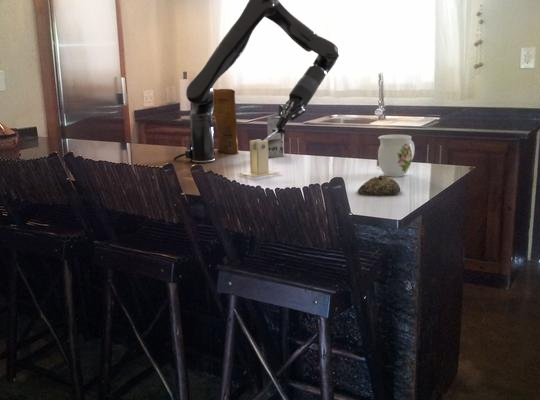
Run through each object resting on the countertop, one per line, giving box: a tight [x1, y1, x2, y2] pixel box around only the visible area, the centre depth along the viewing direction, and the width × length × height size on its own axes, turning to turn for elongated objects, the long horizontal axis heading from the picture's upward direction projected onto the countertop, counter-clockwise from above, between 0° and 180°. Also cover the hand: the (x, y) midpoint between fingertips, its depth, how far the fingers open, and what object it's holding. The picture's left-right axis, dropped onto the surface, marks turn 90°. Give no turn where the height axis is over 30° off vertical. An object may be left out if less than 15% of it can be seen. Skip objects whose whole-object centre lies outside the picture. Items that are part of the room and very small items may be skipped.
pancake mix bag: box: [213, 88, 239, 155], centre depth 281 cm, size 7×19×28 cm, turn 26°
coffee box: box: [266, 115, 285, 158], centre depth 267 cm, size 9×6×16 cm
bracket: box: [239, 139, 280, 178], centre depth 229 cm, size 11×9×13 cm
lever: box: [253, 128, 286, 150], centre depth 229 cm, size 12×6×2 cm, turn 120°
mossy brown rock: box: [357, 175, 402, 196], centre depth 197 cm, size 13×12×5 cm
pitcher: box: [377, 134, 416, 178], centre depth 218 cm, size 11×18×14 cm, turn 124°
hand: (278, 127), depth 231 cm, fingers closed
